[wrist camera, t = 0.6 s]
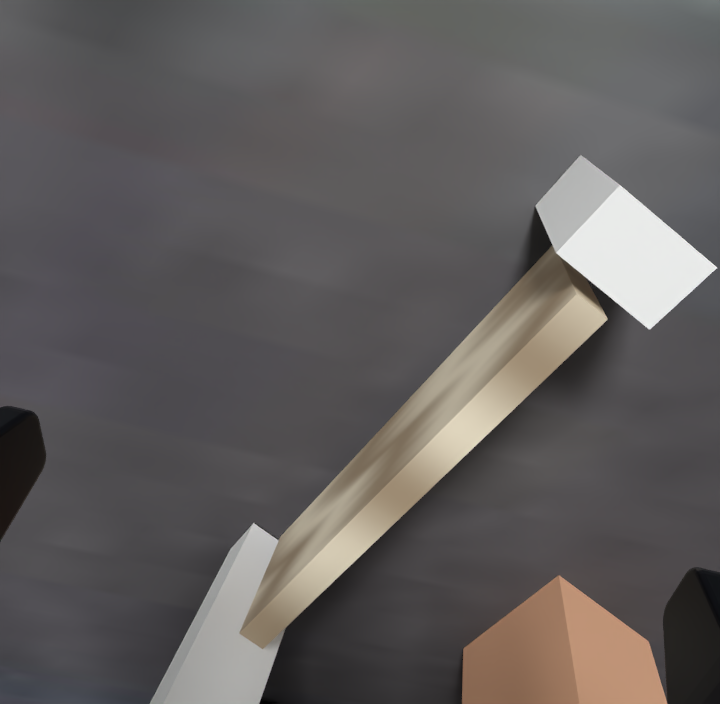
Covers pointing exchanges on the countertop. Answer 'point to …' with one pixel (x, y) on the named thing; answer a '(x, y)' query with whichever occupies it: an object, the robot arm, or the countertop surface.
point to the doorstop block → (560, 655)
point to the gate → (428, 437)
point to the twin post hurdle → (583, 252)
